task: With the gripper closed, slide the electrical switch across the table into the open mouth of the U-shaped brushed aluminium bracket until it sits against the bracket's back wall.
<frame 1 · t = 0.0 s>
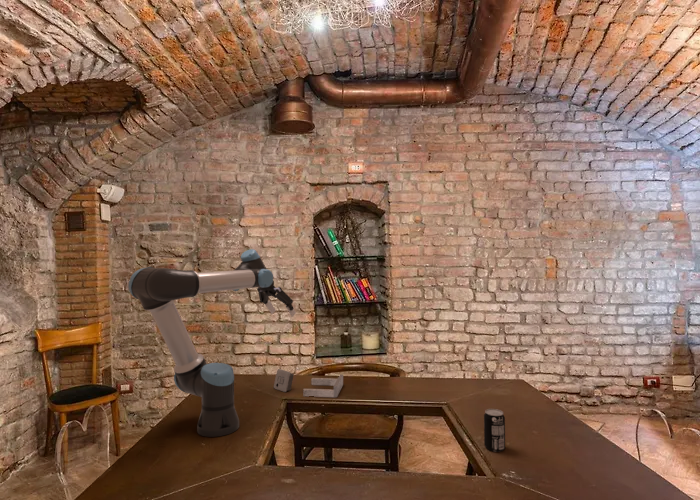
hand: (283, 313, 210), 36 cm above the table, tool tilted 35°, fingers open, 13 cm apart
aluminium bracket: (322, 390, 206), on the table
electrical switch: (283, 389, 208), on the table
beverage can: (494, 448, 145), on the table
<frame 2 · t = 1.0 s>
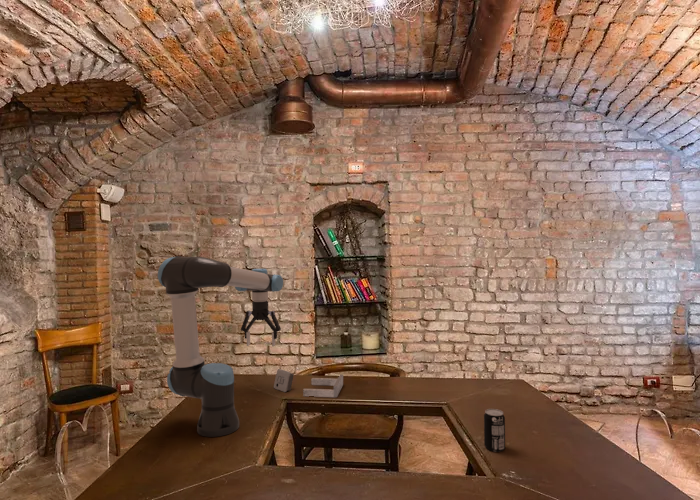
hand: (261, 345, 210), 21 cm above the table, tool pointing down, fingers open, 12 cm apart
nothing on the table moved.
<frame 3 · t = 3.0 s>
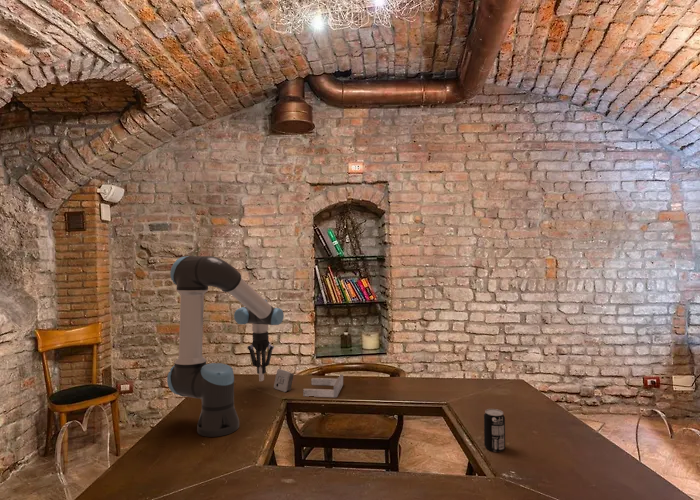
hand: (261, 380, 210), 4 cm above the table, tool pointing down, fingers closed
nothing on the table moved.
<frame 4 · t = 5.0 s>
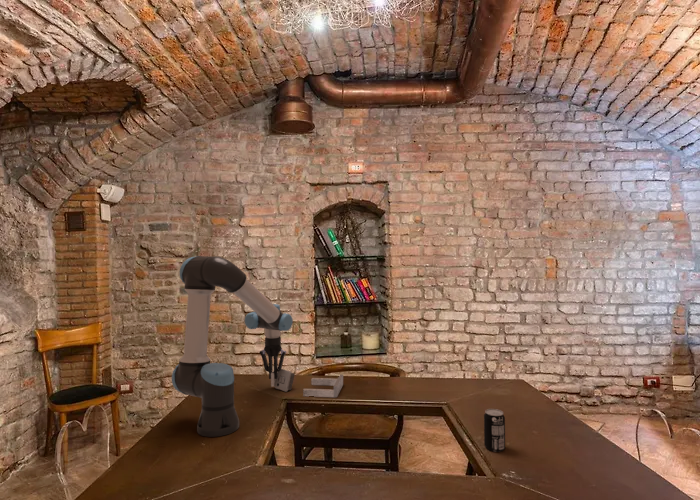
hand: (273, 385, 209), 1 cm above the table, tool pointing down, fingers closed
electrical switch: (284, 389, 208), on the table, touching gripper
everything else where it was.
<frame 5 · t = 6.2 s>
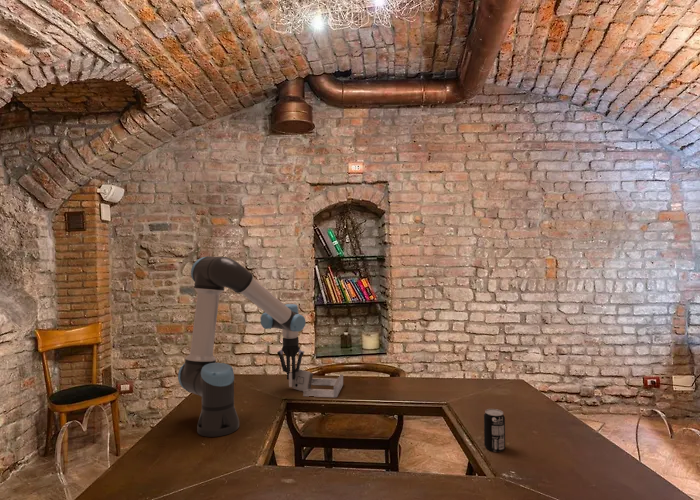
hand: (291, 386, 208), 1 cm above the table, tool pointing down, fingers closed
electrical switch: (302, 389, 208), on the table, touching gripper
everything else where it was.
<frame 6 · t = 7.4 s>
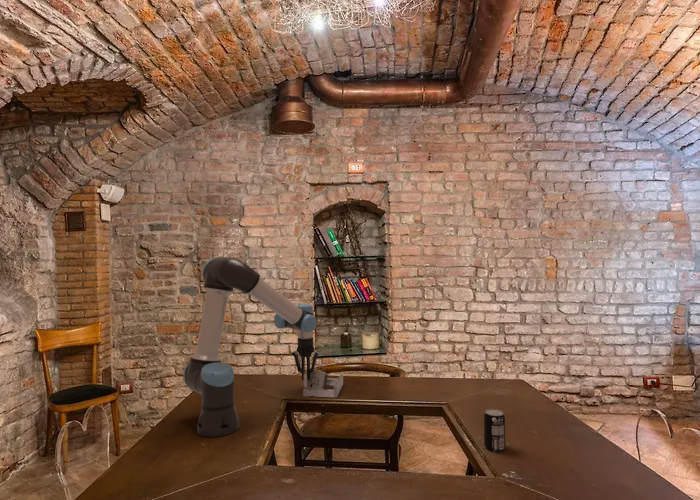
hand: (306, 386, 207), 1 cm above the table, tool pointing down, fingers closed
electrical switch: (317, 390, 207), on the table, touching gripper
everything else where it was.
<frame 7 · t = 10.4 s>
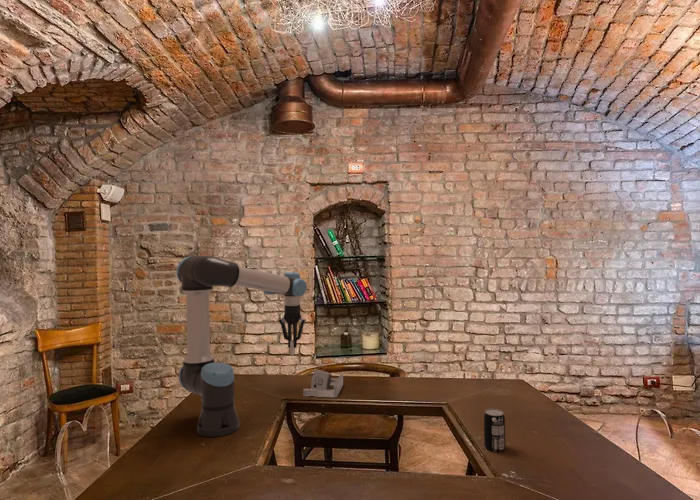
hand: (292, 354, 207), 17 cm above the table, tool pointing down, fingers closed
electrical switch: (321, 390, 206), on the table
everything else where it was.
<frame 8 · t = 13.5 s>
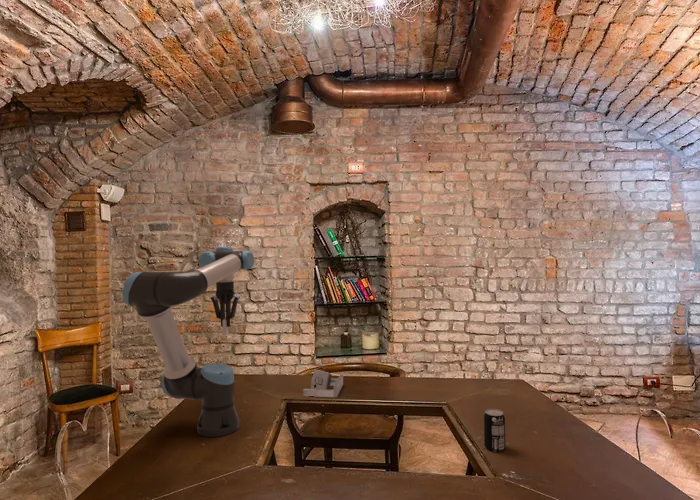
hand: (225, 334, 194), 29 cm above the table, tool pointing down, fingers closed
nothing on the table moved.
at the end: electrical switch inside the target area on the aluminium bracket (2.0 cm from its centre), point 0.0 cm above the aluminium bracket's base; electrical switch moved 18.3 cm from its start; electrical switch tilted 2° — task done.
